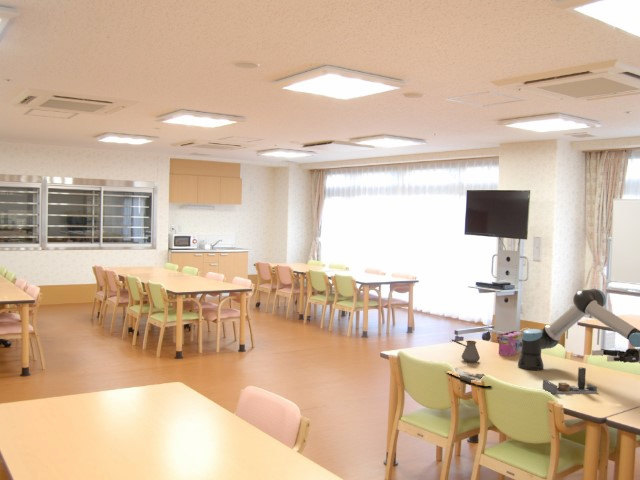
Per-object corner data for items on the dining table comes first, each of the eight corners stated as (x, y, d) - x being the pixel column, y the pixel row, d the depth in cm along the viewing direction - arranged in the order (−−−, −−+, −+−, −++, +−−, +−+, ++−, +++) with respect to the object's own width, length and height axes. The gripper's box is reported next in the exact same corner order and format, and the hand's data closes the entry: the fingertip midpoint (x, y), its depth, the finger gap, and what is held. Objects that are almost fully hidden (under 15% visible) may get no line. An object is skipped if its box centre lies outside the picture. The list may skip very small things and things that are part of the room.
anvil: (553, 394, 310) (553, 385, 310) (542, 388, 321) (542, 380, 321) (556, 394, 310) (557, 385, 310) (546, 388, 321) (546, 380, 321)
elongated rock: (455, 373, 356) (442, 376, 352) (455, 365, 356) (441, 367, 352) (497, 386, 325) (483, 389, 320) (496, 376, 325) (482, 379, 320)
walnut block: (562, 392, 314) (562, 384, 314) (558, 390, 318) (558, 382, 318) (569, 392, 315) (569, 384, 315) (565, 389, 319) (565, 382, 319)
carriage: (573, 391, 315) (574, 369, 314) (568, 389, 320) (569, 367, 319) (588, 391, 316) (590, 369, 316) (583, 388, 321) (584, 366, 320)
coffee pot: (472, 358, 389) (473, 336, 389) (483, 363, 379) (484, 339, 378) (444, 360, 381) (445, 337, 381) (455, 365, 371) (456, 341, 370)
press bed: (553, 396, 310) (553, 388, 310) (542, 390, 321) (542, 382, 321) (599, 396, 314) (599, 388, 314) (586, 389, 325) (587, 382, 324)
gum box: (514, 349, 422) (515, 330, 421) (525, 351, 416) (526, 332, 416) (498, 354, 405) (499, 334, 404) (508, 356, 399) (509, 336, 399)
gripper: (651, 368, 310) (614, 368, 307) (620, 356, 334) (585, 357, 331) (652, 354, 309) (614, 354, 306) (621, 343, 334) (586, 343, 331)
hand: (599, 355), depth 319 cm, fingers open, 13 cm apart
